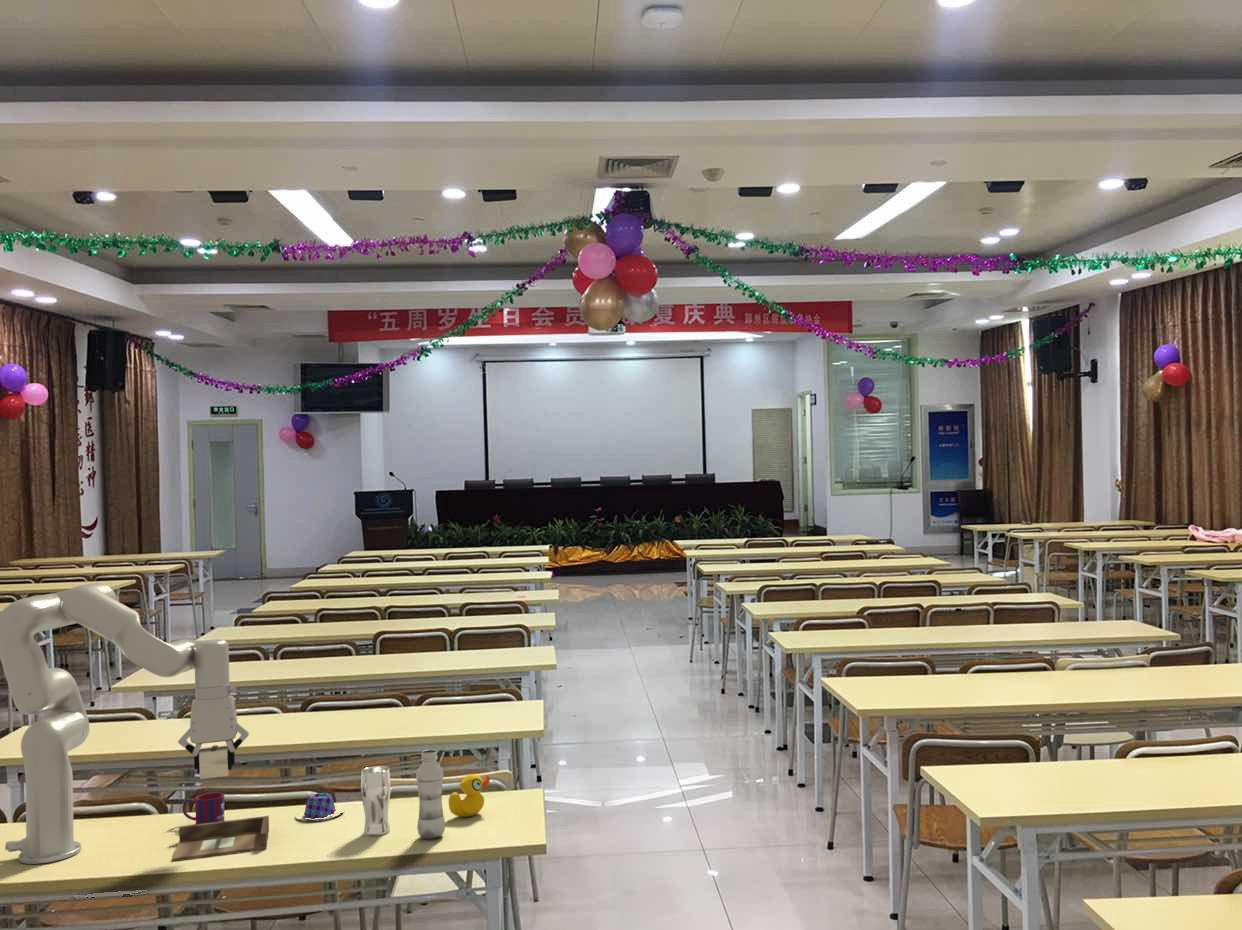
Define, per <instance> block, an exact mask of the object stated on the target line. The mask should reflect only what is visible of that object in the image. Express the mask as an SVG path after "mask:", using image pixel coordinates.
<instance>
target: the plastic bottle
mask: <svg viewBox="0 0 1242 930" xmlns="http://www.w3.org/2000/svg"><path fill="white" fill-rule="evenodd" d="M420 760H421V764H420V765H419V768H418V769H417V770H416V774H415V779H416V780H415V781H416V784H417V785H416V786H417V790H418V791H417V792H418V801H419V803H418V804H419V806H418V819H417V828H416V829H417V832H418V833H417V834H418V836H419V837H420V838H422V839H426V840H427V839H428V840H429V839H430V840H431V839H436V838H439V837H442V836H443V834H444V833H445V829H446V820H445V816H444V809H443V803H442V801H443V797H442V796H443V782H444V770H443V769H442V767H441V765H440V763H439V762H438V761H437V760H438V750H436V749H427V750H426V749H425V750H423V751H421V759H420Z"/></svg>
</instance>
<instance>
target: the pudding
mask: <svg viewBox="0 0 1242 930" xmlns="http://www.w3.org/2000/svg"><path fill="white" fill-rule="evenodd" d="M304 810H305V812H304V815H305V818H311V819H315V818H324V817H327V816H328V815H331V814H334V812H335V811H336V809H335V802H334V798H333V796H332V794H331V793H328V792H318V793H314V794H311V795H310V796H308V797H307V799H306V802H305V808H304ZM298 813H299V812H297V813H296V815H295V819H297V820H300V819H298V818H297V817H296V816H297V814H298ZM330 818H331V817H329V819H328V820H330ZM319 820H320V819H319ZM319 820H316V821H315V822H317V821H318V822H320V821H319ZM324 820H325V821H326V819H323V821H324ZM300 821H301V820H300ZM302 821H304V822H307V821H306V819H305V820H302Z"/></svg>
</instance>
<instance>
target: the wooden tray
mask: <svg viewBox="0 0 1242 930" xmlns="http://www.w3.org/2000/svg"><path fill="white" fill-rule="evenodd" d="M269 816H270V815H265V816H256V817H247V818H240V819H232V820H231V819H230V820H224V821H221V822H212V823H204V824H196V823H195V824H190V825H189V824H188V825H187V824H186V825H181V826H179V832H178V833H179V838H178V839H179V841H178V843H177V846H176V849H175V851H174V853H173V856H172V858H171V859H172V862H176V860H178V861H183V860H182V859H185V860H193V859H200V858H206V857H214V856H215V857H217V856H223V855H222V854H225V855H229V853H232V854H239V853H238V852H240V853H246V852H247V851H248V852H254V851H255V852H256V851H262V849H264V850H267V849H268V848H267V847H268V842H267V841H268V840H269V834H268V833H270V821H269V820H270V817H269ZM216 855H217V856H216ZM185 860H184V861H185Z"/></svg>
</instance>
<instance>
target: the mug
mask: <svg viewBox="0 0 1242 930" xmlns="http://www.w3.org/2000/svg"><path fill="white" fill-rule="evenodd" d="M187 802H193V803H194V804H195V816H191V815H189V813H188V812H187V810H186V809H187V808H186V804H187ZM182 812H183V815H184V816H185V817H186V818H187V819H188V820H192V821H195V825H196V824H204V823H212V822H221V821H225V794H224V793H223V792H206V793H203V794H198V795H197V796H196V797H195V798H188V799H186V800H184V802H183V804H182Z"/></svg>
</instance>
